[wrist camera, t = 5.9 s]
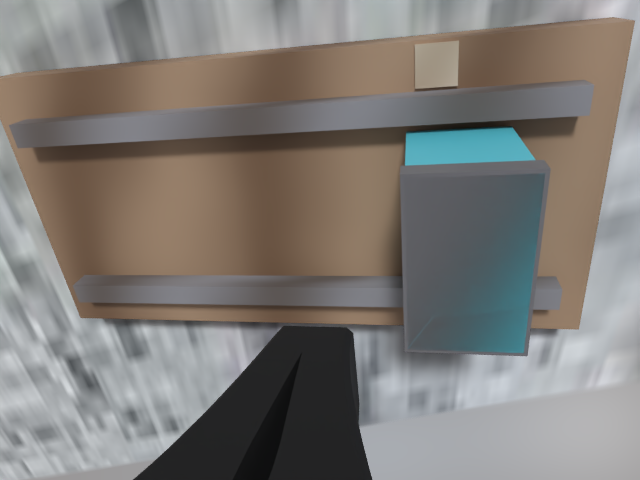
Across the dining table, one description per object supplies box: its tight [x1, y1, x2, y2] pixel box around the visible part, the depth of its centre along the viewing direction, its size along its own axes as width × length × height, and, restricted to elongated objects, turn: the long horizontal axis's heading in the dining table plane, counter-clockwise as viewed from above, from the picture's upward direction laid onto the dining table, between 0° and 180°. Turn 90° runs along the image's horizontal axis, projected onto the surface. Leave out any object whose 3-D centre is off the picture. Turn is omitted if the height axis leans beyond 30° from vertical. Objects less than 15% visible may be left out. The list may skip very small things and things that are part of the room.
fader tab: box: [400, 126, 551, 356], centre depth 13 cm, size 3×5×4 cm, turn 6°
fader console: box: [0, 17, 635, 329], centre depth 17 cm, size 20×10×2 cm, turn 96°
